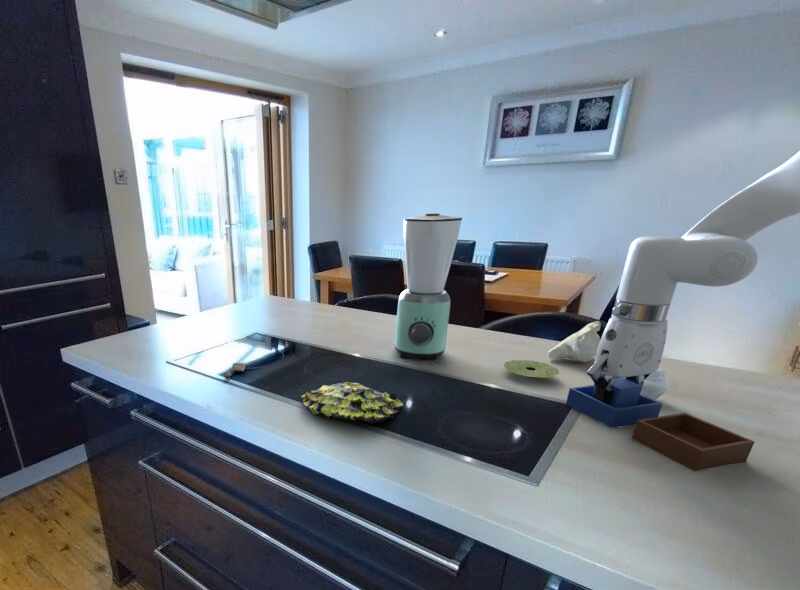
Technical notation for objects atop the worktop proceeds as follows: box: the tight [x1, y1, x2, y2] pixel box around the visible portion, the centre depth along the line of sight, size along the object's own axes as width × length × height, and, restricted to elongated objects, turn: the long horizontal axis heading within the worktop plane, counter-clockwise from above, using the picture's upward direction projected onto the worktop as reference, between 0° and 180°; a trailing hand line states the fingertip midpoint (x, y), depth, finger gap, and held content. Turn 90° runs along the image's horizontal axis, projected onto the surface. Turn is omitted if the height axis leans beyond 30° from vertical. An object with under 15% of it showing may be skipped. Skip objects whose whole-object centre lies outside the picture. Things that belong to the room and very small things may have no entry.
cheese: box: [546, 320, 601, 363], centre depth 110 cm, size 15×7×15 cm
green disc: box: [503, 359, 560, 378], centre depth 101 cm, size 11×11×2 cm
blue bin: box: [565, 384, 663, 429], centre depth 83 cm, size 10×10×4 cm
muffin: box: [640, 367, 671, 401], centre depth 88 cm, size 6×6×7 cm
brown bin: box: [630, 412, 756, 472], centre depth 71 cm, size 10×10×4 cm
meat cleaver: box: [224, 362, 247, 380], centre depth 108 cm, size 12×1×5 cm
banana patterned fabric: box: [300, 381, 404, 424], centre depth 88 cm, size 20×16×6 cm
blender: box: [393, 212, 463, 362], centre depth 112 cm, size 19×13×35 cm
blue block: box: [592, 376, 642, 409], centre depth 82 cm, size 5×5×5 cm
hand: (612, 404), depth 83 cm, fingers closed on blue block, 5 cm apart
